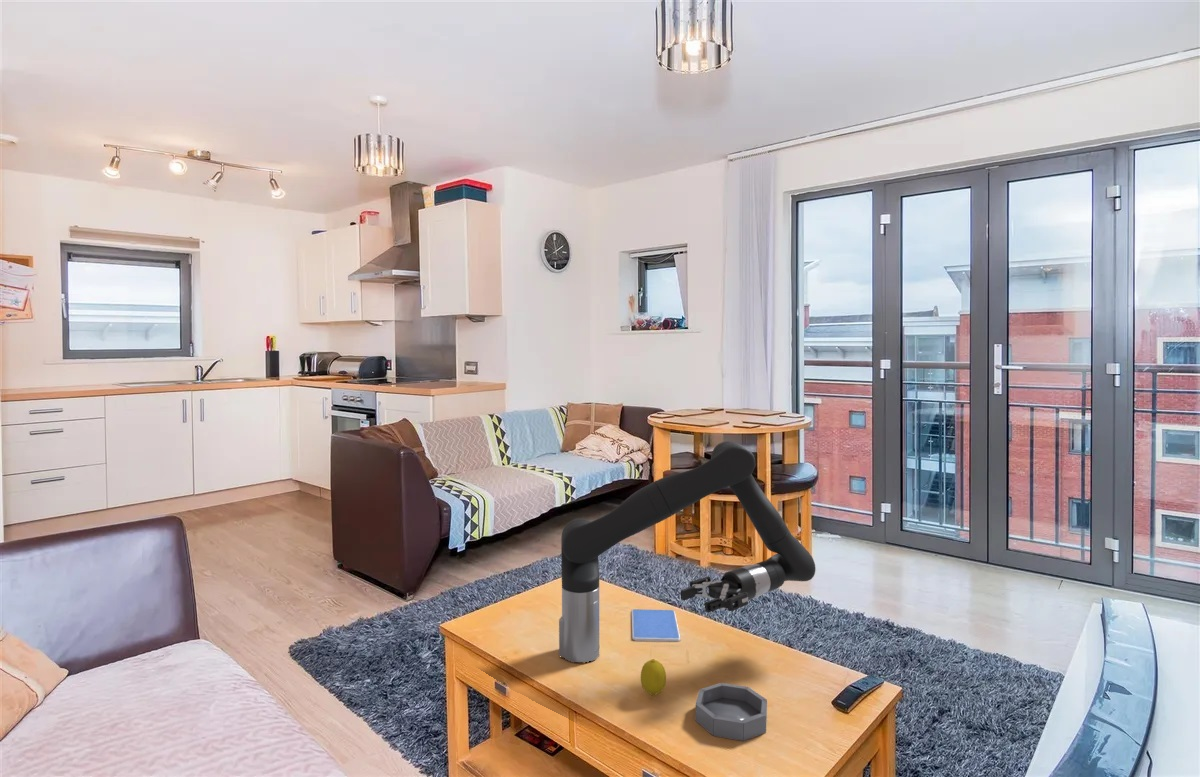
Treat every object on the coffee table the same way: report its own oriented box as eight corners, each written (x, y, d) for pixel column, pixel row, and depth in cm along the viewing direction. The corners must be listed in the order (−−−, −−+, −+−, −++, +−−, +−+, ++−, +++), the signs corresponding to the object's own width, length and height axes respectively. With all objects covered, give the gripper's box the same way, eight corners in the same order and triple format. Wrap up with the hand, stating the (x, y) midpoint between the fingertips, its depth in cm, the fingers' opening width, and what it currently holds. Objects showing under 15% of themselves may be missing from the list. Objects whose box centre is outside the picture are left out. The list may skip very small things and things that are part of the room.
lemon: (664, 703, 132) (664, 666, 132) (638, 700, 134) (639, 664, 133) (667, 690, 138) (667, 654, 137) (642, 687, 139) (642, 652, 139)
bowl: (692, 732, 122) (692, 714, 122) (701, 695, 136) (701, 679, 135) (765, 744, 118) (765, 726, 118) (767, 705, 132) (767, 689, 131)
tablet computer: (631, 612, 181) (631, 608, 181) (674, 613, 181) (674, 608, 181) (632, 642, 162) (632, 638, 162) (681, 643, 161) (681, 638, 161)
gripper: (724, 560, 155) (672, 576, 146) (767, 576, 143) (713, 595, 134) (726, 589, 155) (674, 607, 147) (769, 608, 143) (715, 628, 135)
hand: (693, 601), depth 141 cm, fingers open, 8 cm apart
